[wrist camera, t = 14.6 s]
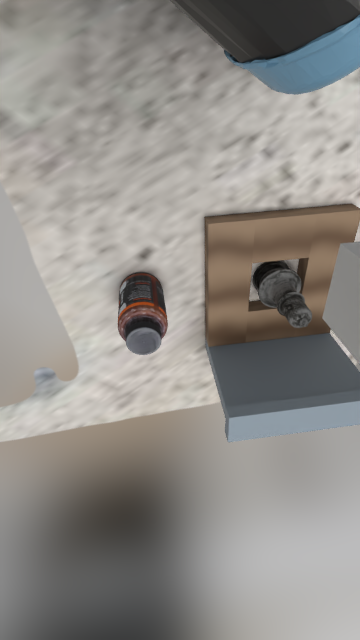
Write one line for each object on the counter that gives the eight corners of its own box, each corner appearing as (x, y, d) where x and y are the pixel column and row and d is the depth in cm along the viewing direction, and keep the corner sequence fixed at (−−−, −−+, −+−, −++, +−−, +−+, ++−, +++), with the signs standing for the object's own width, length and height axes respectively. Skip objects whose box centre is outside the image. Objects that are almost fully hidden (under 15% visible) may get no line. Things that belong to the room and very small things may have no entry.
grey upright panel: (202, 324, 51) (229, 417, 37) (328, 310, 52) (401, 395, 38) (202, 347, 54) (227, 442, 40) (322, 333, 55) (388, 420, 41)
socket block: (204, 217, 41) (208, 224, 39) (351, 203, 43) (362, 209, 41) (205, 336, 52) (208, 346, 50) (322, 323, 54) (329, 332, 52)
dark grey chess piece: (277, 249, 45) (317, 295, 35) (298, 276, 48) (340, 326, 38) (242, 276, 47) (271, 327, 37) (264, 301, 50) (297, 354, 40)
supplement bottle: (110, 284, 45) (105, 335, 36) (148, 263, 44) (152, 311, 35) (134, 315, 49) (135, 369, 39) (170, 296, 47) (179, 347, 38)
